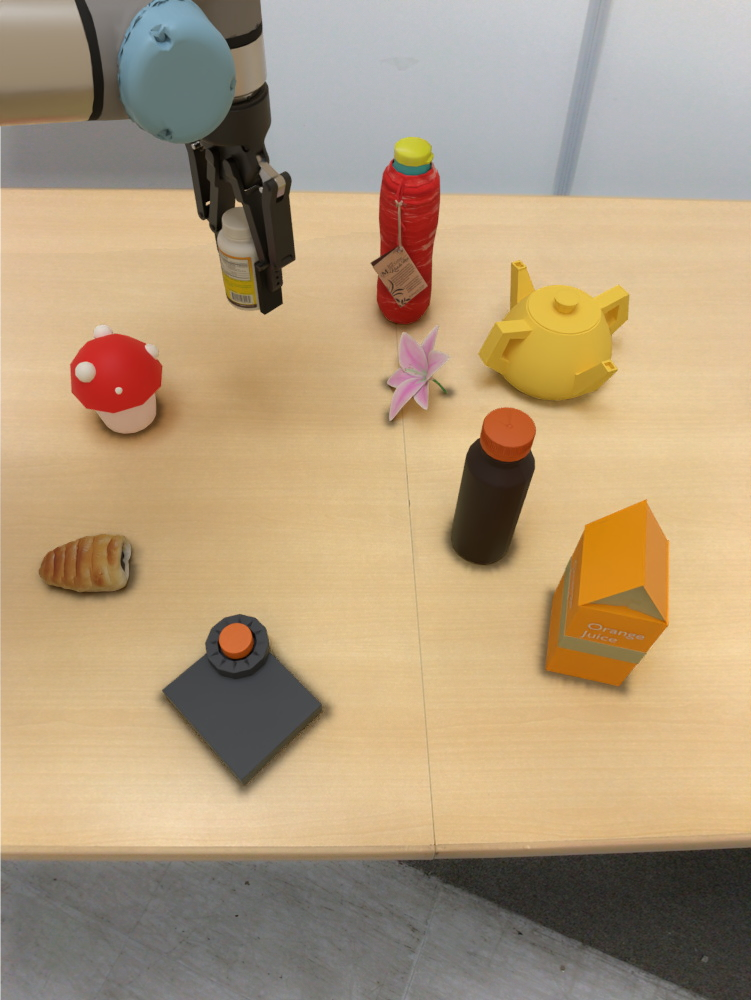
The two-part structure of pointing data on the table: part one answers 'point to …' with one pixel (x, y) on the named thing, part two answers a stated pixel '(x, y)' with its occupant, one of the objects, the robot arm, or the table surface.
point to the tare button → (236, 641)
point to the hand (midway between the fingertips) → (253, 294)
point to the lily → (415, 371)
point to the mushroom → (117, 379)
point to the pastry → (89, 564)
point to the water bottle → (407, 231)
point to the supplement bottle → (238, 260)
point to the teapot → (555, 338)
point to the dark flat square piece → (242, 701)
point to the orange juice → (611, 598)
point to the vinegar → (494, 486)
